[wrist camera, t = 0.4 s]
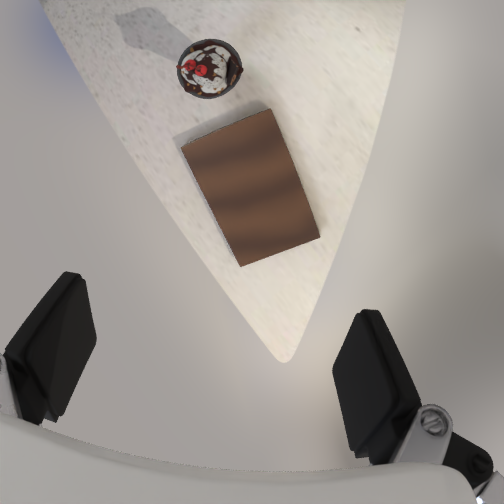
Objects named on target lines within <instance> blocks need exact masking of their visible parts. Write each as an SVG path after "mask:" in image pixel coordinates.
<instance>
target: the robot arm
mask: <svg viewBox="0 0 504 504" xmlns="http://www.w3.org/2000/svg"><path fill="white" fill-rule="evenodd" d="M96 339H97V337H96V332H95V328H94V323H93V318H92V313H91V308H90V303H89V298H88V292H87V287H86V281H85V280H84V279H82V277H81V275H80V274H78V273H72V272H67V271H66V272H64V273H63V274H62V275H61V276H60V278H58V280H57V281H56V282H55V283H54V284H53V286H52V287H51V288H50V289H49V291H48V292H47V293H46V294H45V296H44V297H43V298H42V299H41V301H40V302H39V303H38V304H37V306H36V307H35V308H34V310H33V311H32V312H31V313H30V315H29V316H28V317H27V319H26V320H25V321H24V323H23V324H22V326H21V327H20V328H19V330H18V331H17V332H16V334H15V335H14V337H13V338H12V339H11V341H10V342H9V344H8V345H7V347H6V348H5V353H4V354H3V355H2V354H1V353H0V504H504V477H503V476H502V475H501V474H500V473H499V472H498V471H495V472H493V461H492V459H491V457H490V455H489V454H488V453H487V452H486V451H485V450H483V449H482V448H480V447H478V446H476V445H475V444H473V443H471V442H470V441H468V440H466V439H464V438H462V437H461V436H459V435H457V434H456V433H454V432H452V431H453V422H452V419H451V417H450V415H449V414H448V413H447V411H446V410H445V409H443V408H442V407H440V406H437V405H435V404H427V405H424V406H422V404H421V401H420V400H421V399H420V397H419V395H418V392H417V390H416V387H415V385H414V383H413V381H412V378H411V376H410V374H409V372H408V370H407V367H406V365H405V363H404V361H403V358H402V356H401V354H400V352H399V350H398V348H397V346H396V344H395V342H394V339H393V337H392V335H391V333H390V331H389V329H388V327H387V325H386V323H385V321H384V319H383V317H382V315H381V313H380V312H379V311H378V310H368V309H363V310H362V311H361V312H360V313H357V314H356V315H355V317H354V320H353V322H352V325H351V327H350V329H349V332H348V334H347V336H346V339H345V341H344V343H343V346H342V347H341V350H340V352H339V354H338V356H337V358H336V360H335V363H334V365H333V370H332V371H333V372H332V373H333V377H334V382H335V386H336V389H337V394H338V399H339V403H340V407H341V411H342V415H343V420H344V425H345V429H346V434H347V438H348V443H349V447H350V450H351V451H354V453H355V457H356V458H364V457H369V461H370V465H369V466H367V467H358V468H348V469H336V470H320V471H298V472H297V471H296V472H266V471H241V470H227V469H216V468H206V467H198V466H190V465H183V464H177V463H171V462H165V461H159V460H154V459H149V458H144V457H140V456H135V455H130V454H126V453H122V452H118V451H114V450H111V449H107V448H103V447H100V446H96V445H93V444H90V443H86V442H83V441H80V440H77V439H74V438H71V437H68V436H65V435H62V434H59V433H56V432H53V431H51V430H48V429H45V428H43V427H42V425H41V424H42V421H43V419H44V418H45V419H47V420H50V421H53V422H55V423H56V422H57V420H58V417H59V416H62V415H63V414H64V412H65V410H66V408H67V405H68V403H69V401H70V398H71V396H72V394H73V392H74V389H75V387H76V385H77V383H78V381H79V378H80V376H81V374H82V372H83V370H84V368H85V365H86V363H87V361H88V359H89V357H90V355H91V353H92V351H93V349H94V347H95V345H96Z"/></svg>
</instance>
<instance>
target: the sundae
mask: <svg viewBox="0 0 504 504" xmlns="http://www.w3.org/2000/svg"><path fill="white" fill-rule="evenodd" d="M176 67H177V75H178V79H179V81H180V84H181V85H182V86H183V88H184V90H185V91H186V92H188V93H190V94H192V95H194V96H196V97H198V98H203V99H212V98H216V97H219V96H222V95H224V94H225V93H227V92H228V91H230V90H231V89H232V88H233V87H234V86H235V85H236V83H237V82H238V80H239V79H240V76H241V73H242V72H243V68H242V62H241V59H240V57H239V55H238V53H237V51H236V50H235V49H234V48H233V47H232V46H231V45H230V44H228V43H226V42H224V41H221V40H217V39H205V40H201V41H198V42H196V43H193V44H192V45H191V46H189V47H188V48H187V49H186V50H185V51H184V52H183V54H182V55H181V57H180V59H179V62H178V65H177V66H176Z"/></svg>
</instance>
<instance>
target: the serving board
mask: <svg viewBox="0 0 504 504" xmlns="http://www.w3.org/2000/svg"><path fill="white" fill-rule="evenodd" d="M181 150H182V152H183V154H184V156H185V158H186V160H187V162H188V164H189V166H190V168H191V170H192V172H193V174H194V176H195V178H196V180H197V182H198V184H199V186H200V188H201V190H202V192H203V194H204V196H205V198H206V200H207V202H208V204H209V206H210V208H211V210H212V212H213V214H214V216H215V218H216V220H217V222H218V224H219V226H220V228H221V230H222V232H223V234H224V236H225V238H226V240H227V242H228V244H229V246H230V248H231V250H232V252H233V254H234V256H235V257H236V259H237V261H238V263H239V265H240V267H242V266H245V265H247V264H250V263H253V262H256V261H258V260H261V259H264V258H266V257H269V256H272V255H274V254H277V253H280V252H283V251H285V250H288V249H291V248H293V247H296V246H299V245H301V244H304V243H307V242H309V241H312V240H315V239H317V238H320V234H319V231H318V228H317V226H316V223H315V220H314V217H313V214H312V212H311V209H310V206H309V203H308V201H307V198H306V195H305V193H304V190H303V187H302V185H301V182H300V179H299V177H298V174H297V172H296V169H295V166H294V164H293V161H292V159H291V156H290V154H289V151H288V149H287V146H286V144H285V141H284V139H283V137H282V134H281V132H280V129H279V127H278V125H277V122H276V120H275V117H274V115H273V113H272V110H271V109H267V110H265V111H262V112H259V113H257V114H254V115H252V116H249V117H247V118H245V119H242V120H240V121H237V122H235V123H233V124H230V125H228V126H226V127H223V128H221V129H219V130H217V131H214V132H212V133H210V134H208V135H205V136H203V137H201V138H199V139H197V140H195V141H193V142H190V143H188V144H186V145H184V146H183V147H181Z"/></svg>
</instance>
